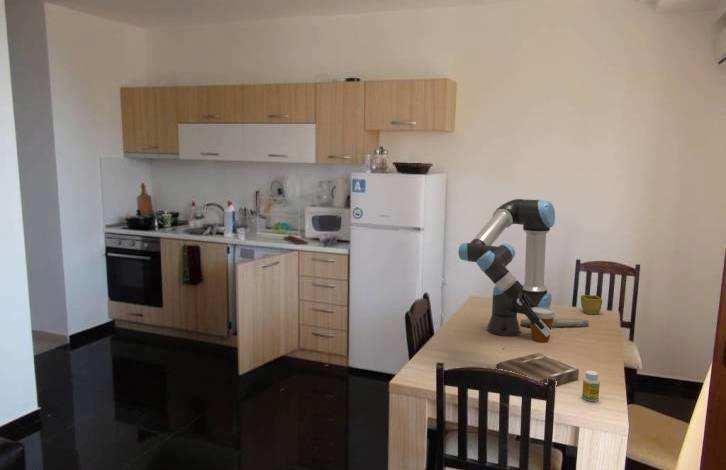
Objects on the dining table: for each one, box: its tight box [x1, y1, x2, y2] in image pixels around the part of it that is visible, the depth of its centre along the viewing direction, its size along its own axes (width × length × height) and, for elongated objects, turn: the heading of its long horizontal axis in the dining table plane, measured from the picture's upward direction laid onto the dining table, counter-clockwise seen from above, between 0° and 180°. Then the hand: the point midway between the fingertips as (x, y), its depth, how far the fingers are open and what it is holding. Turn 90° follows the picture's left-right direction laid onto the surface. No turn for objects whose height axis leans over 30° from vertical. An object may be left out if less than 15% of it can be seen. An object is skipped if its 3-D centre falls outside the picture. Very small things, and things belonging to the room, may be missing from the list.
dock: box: [495, 352, 580, 387], centre depth 211 cm, size 22×21×4 cm
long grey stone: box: [519, 317, 590, 328], centre depth 273 cm, size 35×5×10 cm
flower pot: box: [580, 294, 603, 315], centre depth 294 cm, size 9×9×9 cm
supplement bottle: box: [581, 370, 601, 402], centre depth 191 cm, size 5×5×10 cm
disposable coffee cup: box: [530, 307, 556, 344], centre depth 208 cm, size 10×10×12 cm
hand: (549, 330), depth 207 cm, fingers closed on disposable coffee cup, 9 cm apart
